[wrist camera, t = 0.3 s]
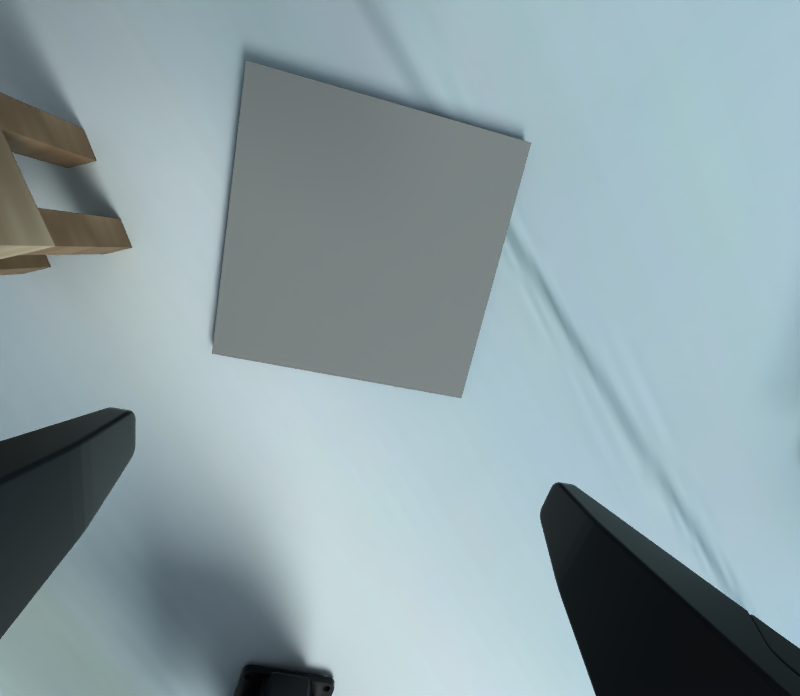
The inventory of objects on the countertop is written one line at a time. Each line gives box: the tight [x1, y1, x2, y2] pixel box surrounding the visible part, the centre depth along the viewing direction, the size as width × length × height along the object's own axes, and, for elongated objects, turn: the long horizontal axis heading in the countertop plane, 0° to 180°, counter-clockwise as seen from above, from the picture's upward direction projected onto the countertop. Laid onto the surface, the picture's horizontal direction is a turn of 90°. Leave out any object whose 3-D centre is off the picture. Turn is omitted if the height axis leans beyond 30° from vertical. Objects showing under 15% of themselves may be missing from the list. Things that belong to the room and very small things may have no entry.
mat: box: [212, 60, 531, 398], centre depth 20 cm, size 14×14×1 cm
